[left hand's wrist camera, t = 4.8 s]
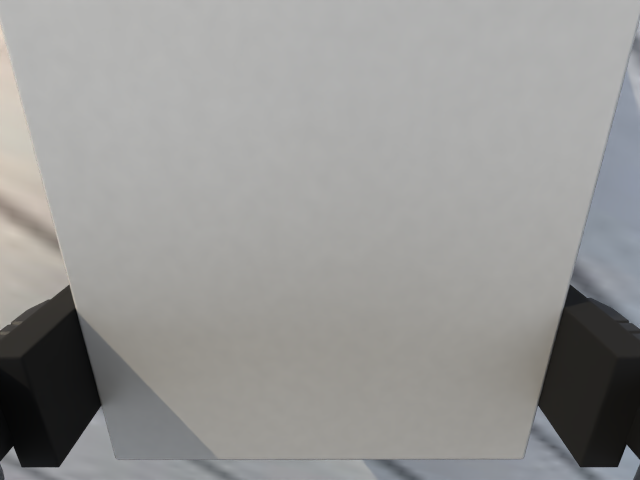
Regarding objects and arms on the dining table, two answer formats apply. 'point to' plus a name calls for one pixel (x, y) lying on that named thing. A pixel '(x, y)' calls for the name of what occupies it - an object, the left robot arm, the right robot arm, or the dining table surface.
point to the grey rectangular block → (319, 212)
